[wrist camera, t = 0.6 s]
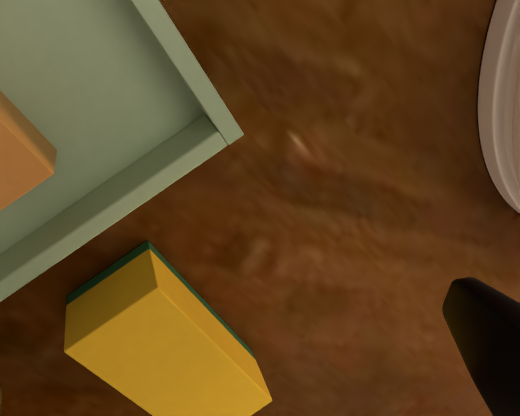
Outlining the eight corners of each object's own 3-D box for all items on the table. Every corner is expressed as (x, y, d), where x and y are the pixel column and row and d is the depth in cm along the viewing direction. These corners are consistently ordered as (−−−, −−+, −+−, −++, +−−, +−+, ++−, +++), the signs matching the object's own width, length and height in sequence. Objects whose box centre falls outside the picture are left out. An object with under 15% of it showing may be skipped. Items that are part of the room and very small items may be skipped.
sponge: (187, 394, 30) (200, 450, 26) (66, 295, 23) (63, 352, 20) (251, 350, 30) (273, 400, 26) (147, 239, 23) (157, 287, 20)
